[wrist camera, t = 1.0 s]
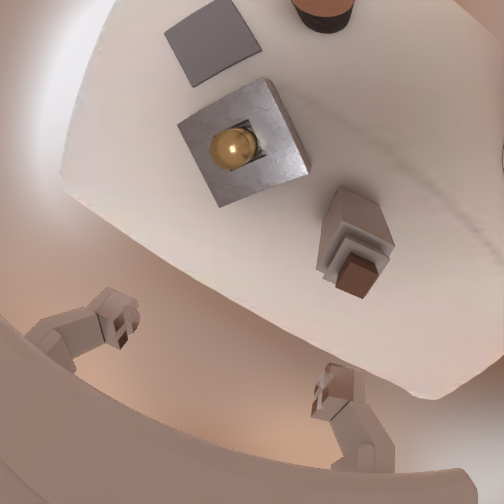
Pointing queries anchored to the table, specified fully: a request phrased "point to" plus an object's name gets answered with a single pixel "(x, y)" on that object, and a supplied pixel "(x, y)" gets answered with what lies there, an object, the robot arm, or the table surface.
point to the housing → (267, 130)
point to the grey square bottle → (353, 243)
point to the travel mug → (324, 14)
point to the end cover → (235, 147)
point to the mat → (211, 41)
